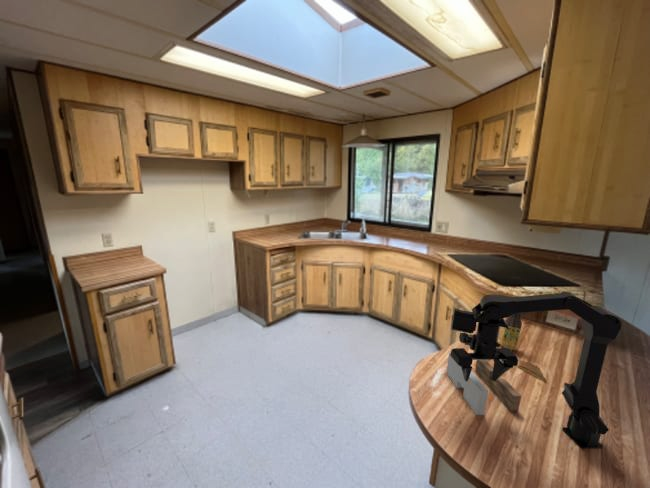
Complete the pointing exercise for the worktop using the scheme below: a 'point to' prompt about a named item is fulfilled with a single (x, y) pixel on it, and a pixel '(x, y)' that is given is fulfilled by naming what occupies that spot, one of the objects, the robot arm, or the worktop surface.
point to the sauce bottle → (511, 332)
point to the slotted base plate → (498, 386)
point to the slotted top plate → (468, 387)
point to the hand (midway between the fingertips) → (479, 380)
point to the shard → (531, 369)
